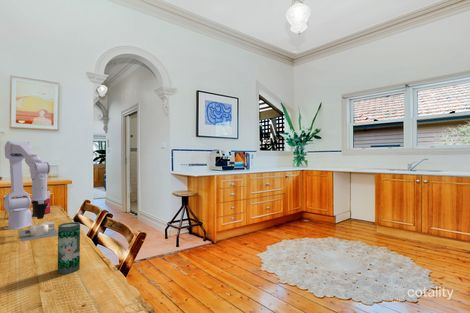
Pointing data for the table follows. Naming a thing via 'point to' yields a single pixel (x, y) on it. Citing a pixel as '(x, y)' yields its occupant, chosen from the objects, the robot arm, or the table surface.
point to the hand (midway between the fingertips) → (39, 217)
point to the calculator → (45, 202)
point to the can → (68, 247)
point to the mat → (27, 236)
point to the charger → (49, 224)
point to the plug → (38, 230)
